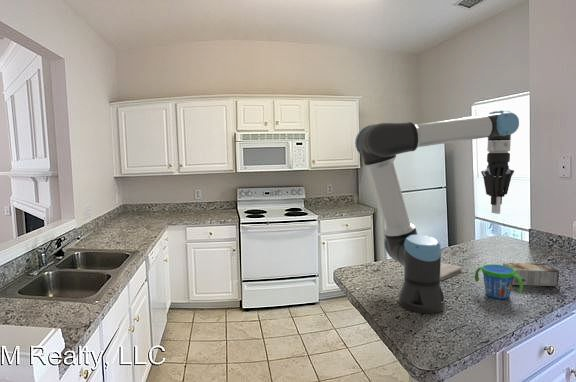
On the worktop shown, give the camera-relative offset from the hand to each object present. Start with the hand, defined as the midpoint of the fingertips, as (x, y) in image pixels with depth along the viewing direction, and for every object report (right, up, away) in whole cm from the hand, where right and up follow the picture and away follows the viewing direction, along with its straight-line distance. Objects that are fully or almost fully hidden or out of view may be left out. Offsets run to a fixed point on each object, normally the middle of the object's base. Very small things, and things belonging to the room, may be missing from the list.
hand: (495, 213), depth 139 cm
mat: (+14, -27, +6) cm, 31 cm away
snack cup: (-5, -30, -9) cm, 31 cm away
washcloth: (-15, -28, +16) cm, 35 cm away
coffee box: (+6, -24, +3) cm, 25 cm away
